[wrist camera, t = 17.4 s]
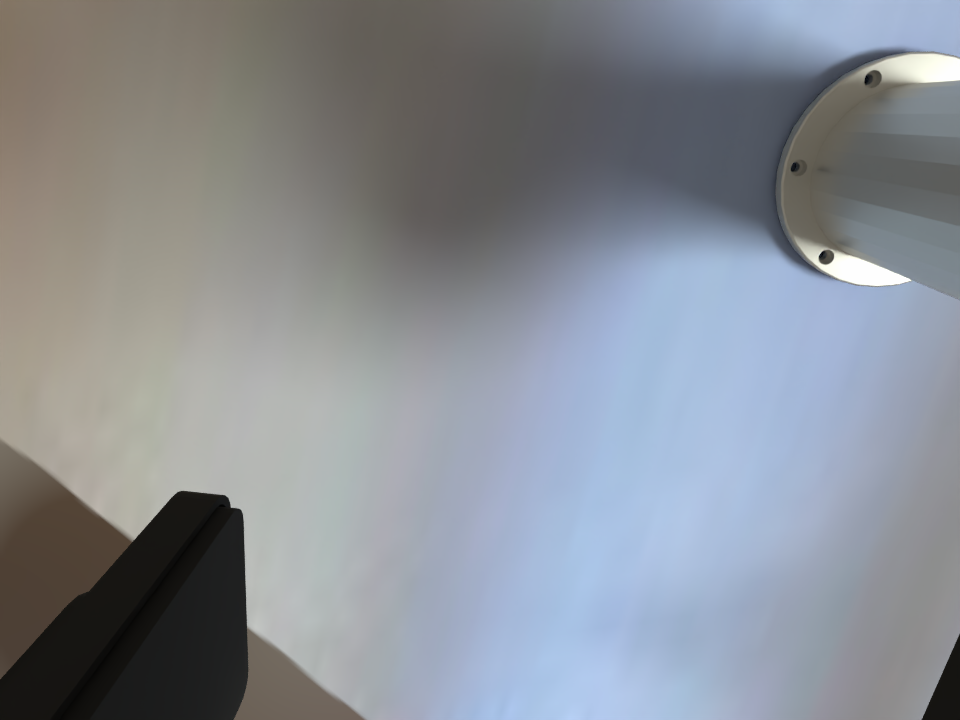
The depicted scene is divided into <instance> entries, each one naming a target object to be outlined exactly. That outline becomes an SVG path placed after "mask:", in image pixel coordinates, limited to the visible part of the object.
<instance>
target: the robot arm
mask: <svg viewBox="0 0 960 720" xmlns="http://www.w3.org/2000/svg"><path fill="white" fill-rule="evenodd" d="M866 75H867V76H868V77H869V81H868V83H867V84H865V83H864V78H865V76H866ZM794 162H795V163H796V165H797V167H796V169H795V170H794V171H791V166H792V164H793V163H794ZM775 194H776V204H777V213H778V216H779V219H780V222H781V225H782V228H783V231H784V233H785V235H786V237H787V238H788V240H789V242H790V244H791V245H792V247H793V249H794V250H795V251H796V252H797V253H798V254H799V255H800V256H801V257H802V258H803V259H804V260H805V261H806V262H807V263H808V264H810V265H811V266H813V267H814V268H816V269H817V270H819V271H820V272H822V273H824V274H826V275H828V276H830V277H832V278H834V279H836V280H839V281H842V282H846V283H849V284H853V285H858V286H869V287H882V286H893V285H899V284H903V283H907V282H910V281H915V282H917V283H920V284H922V285H924V286H927V287H929V288H932V289H934V290H937V291H939V292H941V293H944V294H946V295H949V296H951V297H953V298H956V299H958V300H960V58H959V57H957V56H954V55H949V54H944V53H938V52H907V53H901V54H895V55H889V56H886V57H883V58H880V59H877V60H874V61H870V62H867V63H865V64H863V65H861V66H859V67H857V68H855V69H854V70H852V71H850V72H848V73H846V74H844V75H843V76H841V77H840V78H839V79H837V80H836V81H835V82H833V83H832V84H831V85H830V86H828V87H827V88H826V89H824V90H823V91H822V92H821V93H820V94H819V96H818V97H817V98H816V99H815V100H814V101H813V102H812V103H811V104H810V105H809V106H808V107H807V108H806V110H805V111H804V113H803V114H802V116H801V117H800V118H799V120H798V121H797V123H796V124H795V126H794V127H793V129H792V131H791V133H790V136H789V138H788V140H787V142H786V144H785V146H784V148H783V151H782V155H781V159H780V162H779V166H778V170H777V179H776V190H775ZM822 251H823V252H824V254H823V256H822V257H821V258H819V255H820V253H821V252H822ZM247 679H248V647H247V615H246V584H245V553H244V522H243V514H242V511H241V510H240V509H237V508H231V506H230V502H229V499H228V497H226V496H225V495H216V494H207V493H198V492H188V491H180V492H177V493H176V494H175V495H174V496H173V497H172V498H171V499H170V500H169V501H168V503H167V504H166V505H165V506H164V507H163V508H162V509H161V510H160V512H159V513H158V514H157V515H156V516H155V517H154V518H153V520H152V521H151V522H150V523H149V524H148V525H147V526H146V527H145V529H144V530H143V531H142V532H141V533H140V534H139V535H138V537H137V538H136V539H135V540H134V541H133V542H132V543H131V544H130V546H129V547H128V548H127V549H126V550H125V551H124V552H123V554H122V555H121V556H120V557H119V558H118V559H117V560H116V561H115V563H114V564H113V565H112V566H111V567H110V568H109V569H108V571H107V572H106V573H105V574H104V575H103V576H102V577H101V578H100V580H99V581H98V582H97V583H96V584H95V585H94V587H93V588H92V589H91V590H90V591H89V592H86V593H83V594H81V595H79V596H77V597H76V598H75V599H74V600H73V601H72V602H70V603H69V604H68V605H67V607H65V608H64V610H63V611H62V612H61V613H60V614H59V615H58V616H57V617H56V618H55V620H54V621H53V622H52V623H51V624H50V625H49V626H48V627H47V628H46V629H45V631H44V632H43V633H42V634H41V635H40V636H39V637H38V638H37V639H36V641H35V642H34V643H33V644H32V645H31V646H30V647H29V649H28V650H27V651H26V652H25V653H24V654H23V655H22V656H21V657H20V658H19V659H18V660H17V662H16V663H15V664H14V665H13V666H12V667H11V668H10V669H9V670H8V672H7V673H6V674H5V675H4V676H3V677H2V678H1V679H0V720H233V719H234V718H235V715H236V713H237V711H238V709H239V707H240V704H241V702H242V699H243V696H244V693H245V689H246V685H247ZM922 720H960V635H959V637H958V639H957V641H956V644H955V646H954V648H953V650H952V653H951V655H950V657H949V659H948V662H947V664H946V666H945V668H944V671H943V673H942V675H941V677H940V680H939V682H938V684H937V687H936V689H935V691H934V693H933V696H932V698H931V700H930V702H929V705H928V707H927V709H926V711H925V714H924V716H923V718H922Z"/></svg>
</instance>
